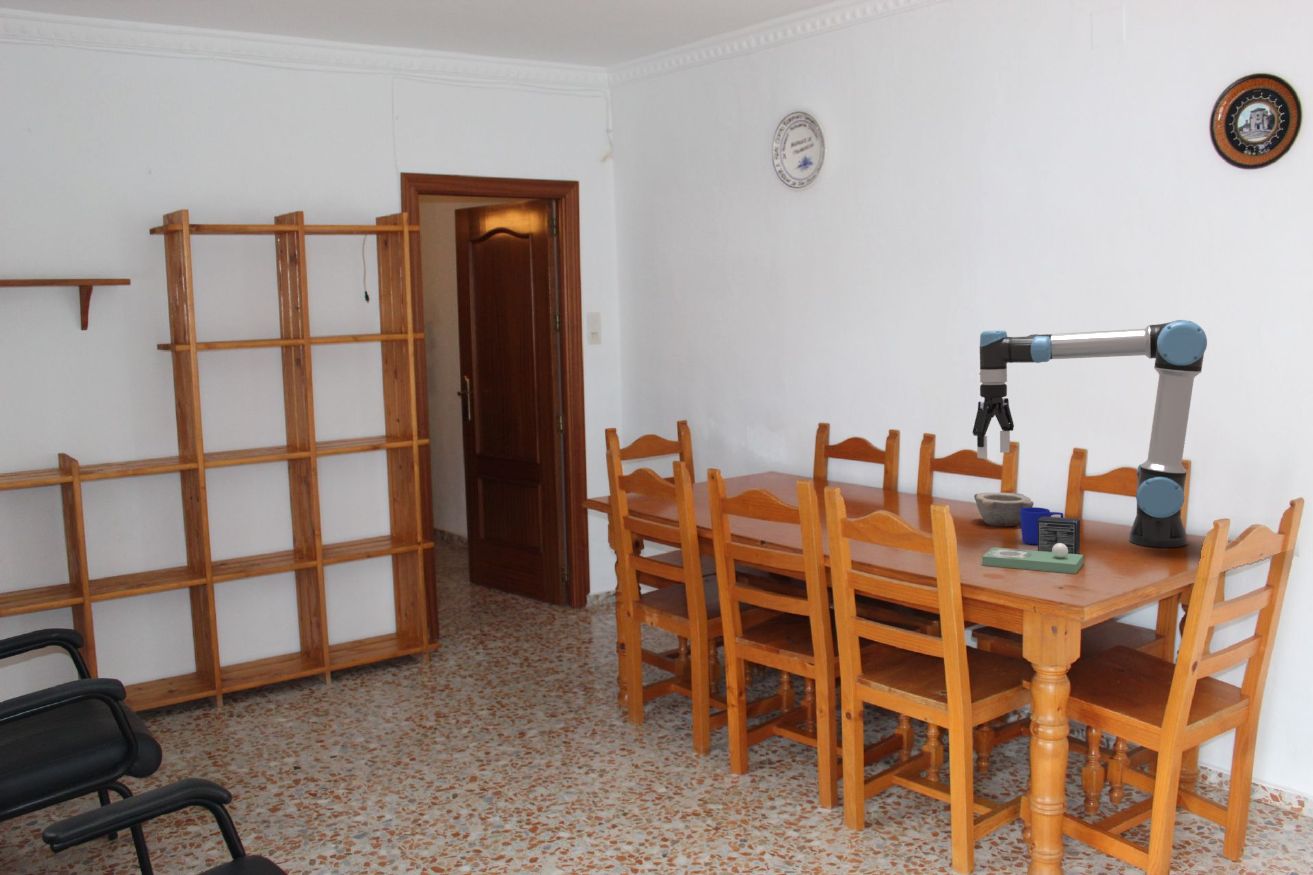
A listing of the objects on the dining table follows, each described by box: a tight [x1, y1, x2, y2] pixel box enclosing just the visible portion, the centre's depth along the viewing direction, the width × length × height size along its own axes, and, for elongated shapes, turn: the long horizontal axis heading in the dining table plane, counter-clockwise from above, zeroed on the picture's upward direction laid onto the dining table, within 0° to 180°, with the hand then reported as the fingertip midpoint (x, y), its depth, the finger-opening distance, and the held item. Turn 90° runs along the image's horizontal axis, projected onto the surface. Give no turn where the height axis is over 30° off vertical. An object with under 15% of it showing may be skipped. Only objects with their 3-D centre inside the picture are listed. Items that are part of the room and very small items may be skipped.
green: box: [981, 546, 1084, 575], centre depth 286 cm, size 24×12×2 cm, turn 59°
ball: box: [1052, 543, 1068, 558], centre depth 282 cm, size 4×4×4 cm
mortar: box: [973, 492, 1035, 528], centre depth 339 cm, size 17×17×9 cm
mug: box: [1020, 506, 1064, 546], centre depth 310 cm, size 8×12×10 cm
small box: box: [1037, 516, 1081, 555], centre depth 295 cm, size 11×6×10 cm, turn 59°
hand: (993, 455), depth 310 cm, fingers open, 13 cm apart
